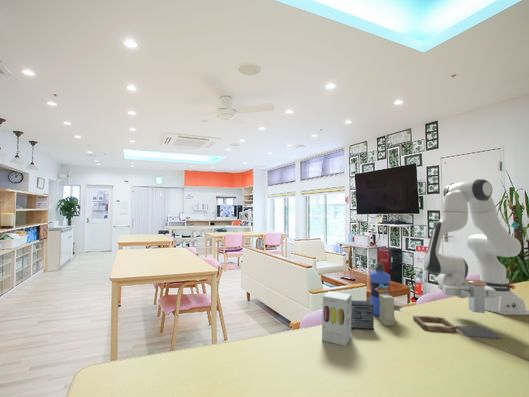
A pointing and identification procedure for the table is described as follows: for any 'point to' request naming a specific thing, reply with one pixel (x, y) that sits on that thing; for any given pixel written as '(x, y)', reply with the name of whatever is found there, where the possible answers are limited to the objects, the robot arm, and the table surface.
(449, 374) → the table surface
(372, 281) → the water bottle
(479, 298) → the copper-capped steel post
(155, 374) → the table surface
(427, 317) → the brown wooden square frame
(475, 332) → the charcoal mat
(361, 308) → the small box
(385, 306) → the skincare box
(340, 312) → the supplement box
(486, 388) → the table surface
